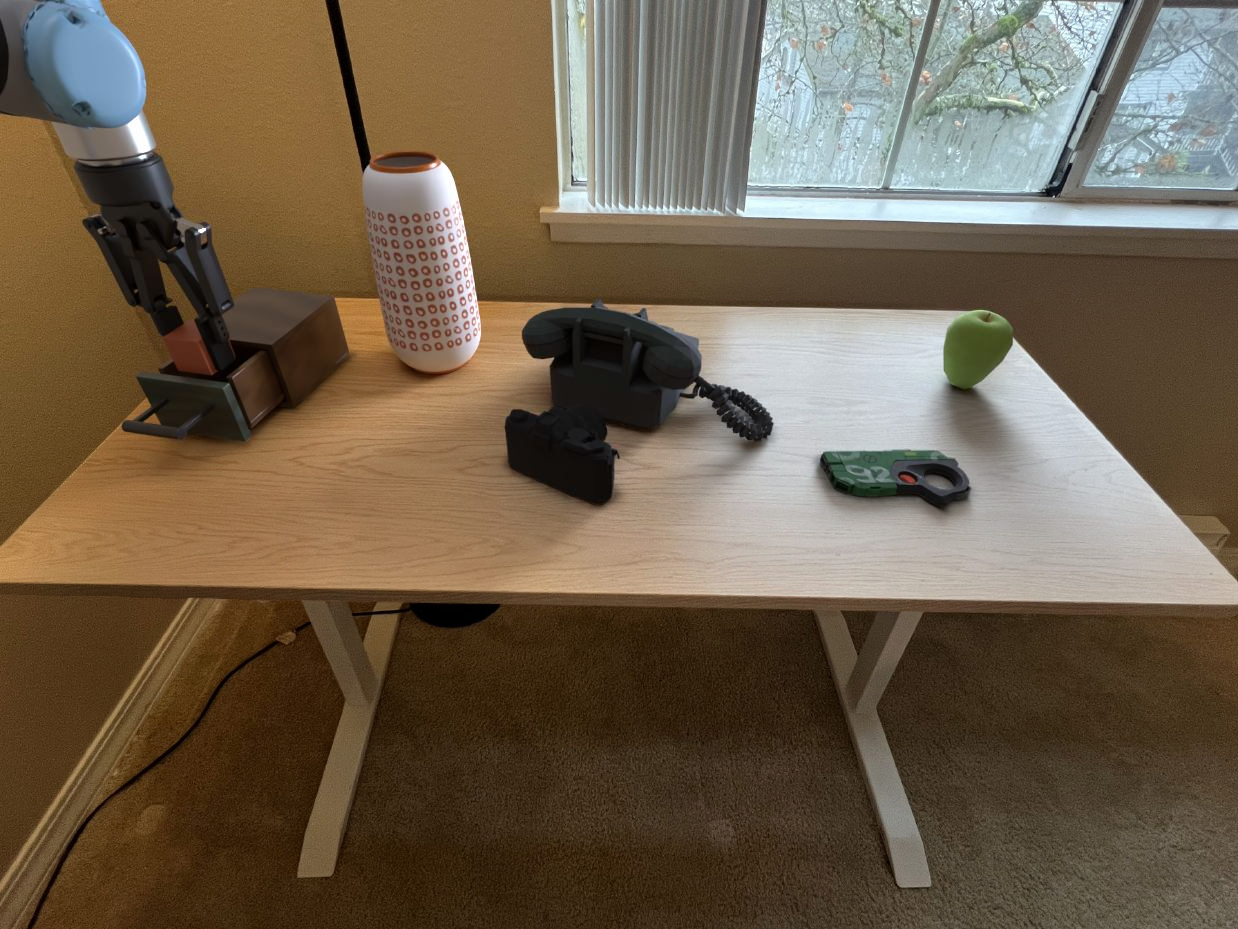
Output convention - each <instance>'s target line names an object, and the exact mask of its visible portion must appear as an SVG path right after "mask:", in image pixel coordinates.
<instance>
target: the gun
mask: <svg viewBox="0 0 1238 929" xmlns="http://www.w3.org/2000/svg"><path fill="white" fill-rule="evenodd" d="M822 452H823V453H822V454H820V458H819V463H820V465H821V467H822V469H823V470H824V471H825V472H826V475H827V476H826V477H828V480H829V483H830V484H831V486H832V488H833V489H835V490H837V491H840V492H842V493H844V494H846V495H848V494H849V495H850V494H851V495H853V496H857V497H869V498H870V497H881V496H896V494H899V495H901V494H902V495H919V496H920V497H922V498H924V499H925V500H926V501H928V502H929V503H932V504H933V505H935V506H936V507H939V508H946V507H947V506H948V503H949V502H952V501H957V500H962V499H964V498H966V497H968V496H969V495H970V492H971V491H972V487H971V486H969V485H970V483H971V482H970V478H969V477H968V475H967V473H966V472H965V471H964V470H963V469H962V468H960V467H959V462H958V460H957V459H956V458H955V457H950V456H947V455H945V454H944V453H942V452H941V451H939V450H934V449H929V450H928V449H921V450H920V449H917V450H916V449H915V450H913V449H912V450H911V449H891V450H826V451H822ZM928 473H930V474H931V473H935V474H940V475H943V476H945V477H947V478H948V479H950V480H951V481H952V482H953V484H954V487H952V488H943V487H942V488H941V487H938V486H935V485H933V484H932V483H931V482H928V480H927V479H926V478H925V475H926V474H928Z"/></svg>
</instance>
